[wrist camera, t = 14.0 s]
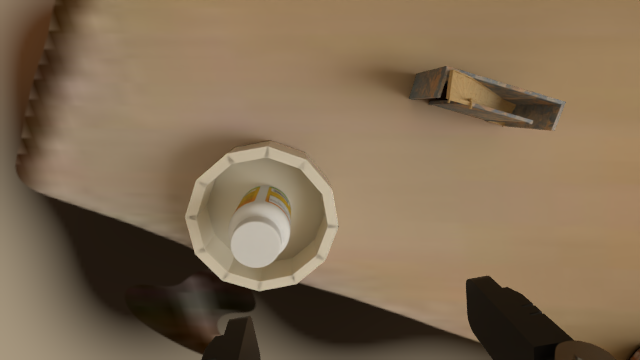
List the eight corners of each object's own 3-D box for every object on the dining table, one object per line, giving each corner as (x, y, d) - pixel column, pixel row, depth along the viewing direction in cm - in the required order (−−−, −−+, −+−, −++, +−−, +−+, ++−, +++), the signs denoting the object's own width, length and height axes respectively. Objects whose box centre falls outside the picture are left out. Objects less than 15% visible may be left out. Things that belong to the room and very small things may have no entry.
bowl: (187, 155, 35) (169, 163, 31) (319, 131, 36) (323, 136, 31) (218, 276, 39) (207, 301, 34) (340, 253, 39) (346, 274, 34)
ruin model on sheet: (406, 102, 36) (445, 101, 27) (415, 74, 36) (458, 62, 26) (501, 130, 38) (570, 138, 28) (511, 102, 37) (585, 101, 28)
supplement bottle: (240, 232, 37) (220, 276, 27) (240, 183, 35) (219, 212, 26) (290, 233, 37) (288, 277, 28) (292, 185, 36) (290, 213, 26)
